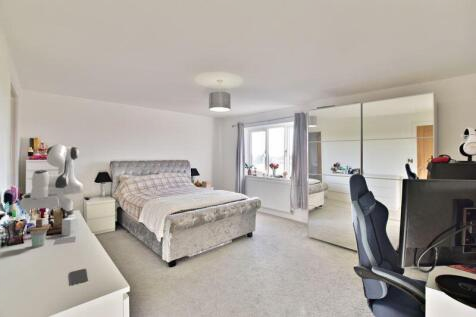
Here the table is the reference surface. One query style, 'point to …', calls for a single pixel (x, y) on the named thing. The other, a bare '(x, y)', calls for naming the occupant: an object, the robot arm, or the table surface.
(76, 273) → the smartphone
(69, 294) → the table surface
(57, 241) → the mat
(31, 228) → the lid
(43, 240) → the coffee cup
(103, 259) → the table surface
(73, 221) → the supplement box
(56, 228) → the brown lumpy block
